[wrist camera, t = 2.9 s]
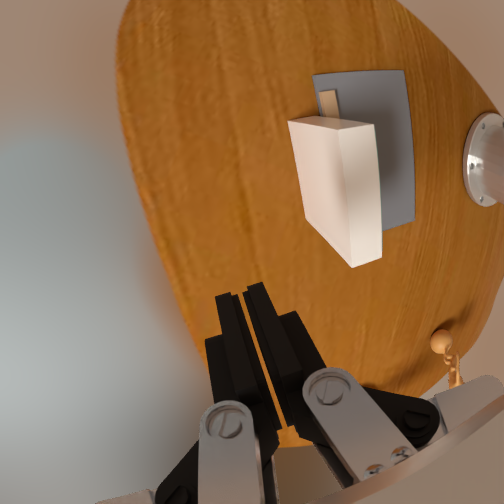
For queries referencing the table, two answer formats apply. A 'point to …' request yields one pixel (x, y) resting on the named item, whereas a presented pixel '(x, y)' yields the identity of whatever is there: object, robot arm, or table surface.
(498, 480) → the robot arm
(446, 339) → the figurine
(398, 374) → the table surface
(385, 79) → the charcoal mat
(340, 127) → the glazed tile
